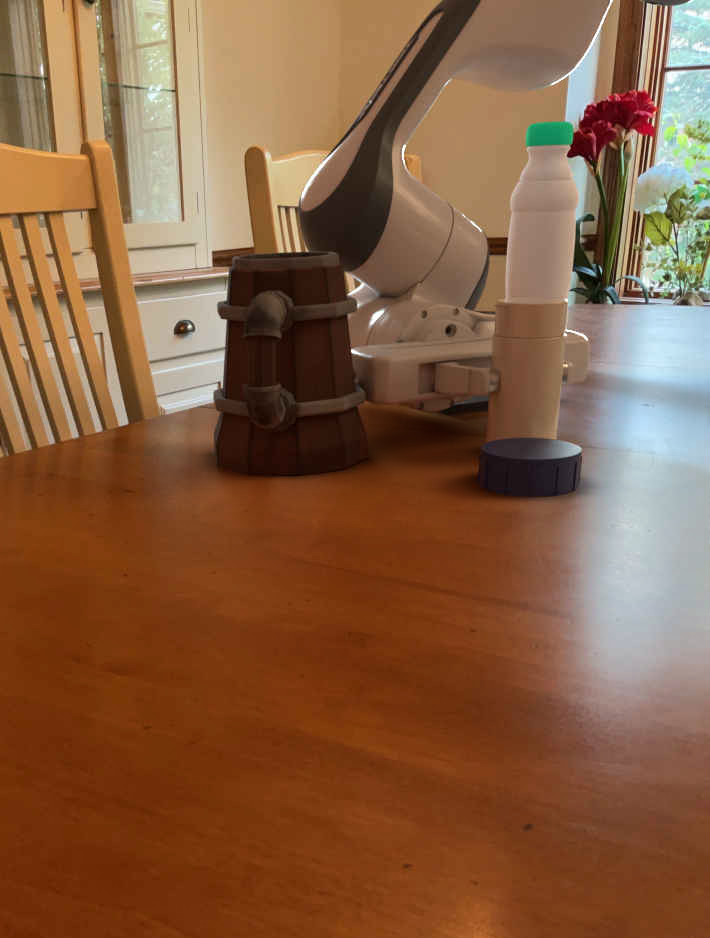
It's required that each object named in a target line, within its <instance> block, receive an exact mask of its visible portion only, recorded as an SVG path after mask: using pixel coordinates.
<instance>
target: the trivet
mask: <svg viewBox="0 0 710 938" xmlns="http://www.w3.org/2000/svg"><path fill="white" fill-rule="evenodd" d="M488 399H489V395H485V396H475V397H473V398H470V399H468V400H465V401H463V402H459V403H455V404H454V405H452V406H451V407H449V408H447V409H444V410H441V411H437V412H439V413H442V414H445V415H449V416H451V415H452V416H454V415H460V414H469V413H470V414H471V413H477V412H485V411H488Z"/></svg>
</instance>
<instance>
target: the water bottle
mask: <svg viewBox="0 0 710 938" xmlns="http://www.w3.org/2000/svg"><path fill="white" fill-rule="evenodd" d="M573 140H574V126H573V124H572V122H569V121H541V122H534V123H531V124H530V125H528V127H527V128H526V132H525V147H526V149H525V150H526V152H527V154H528V161H527V163H526V165H525V167H524V168H523V170H522V171H521V174H520V176H519V181H518V182H517V183H516V185H515V187H514V189H513V191H512V192H511V196H510V200H509V208H510V211H511V215H510V222H509V226H508V227H509V229H508V237H507V247H506V248H507V249H506V261H505V298H516V297H551V298H562V299H566V300H569V294H570V290H571V285H572V284H571V283H572V276H573V267H574V257H575V247H576V246H575V243H576V227H577V226H576V225H577V224H576V221H577V220H576V216H577V215H576V214H577V213H576V211H577V208H578V206H579V203H580V194H579V189H578V187H577V185H576V182H575V180H574V178H573V171H572V169H571V167H570V165H569V163H568V160H567V159H568V158H567V156H568V153H569V151H570V150H571V148H572V147H571V145H572V144H573ZM569 312H570V311H569V305H568V306H567V317H566V328H565V330H567V327H568V321H569Z"/></svg>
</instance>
